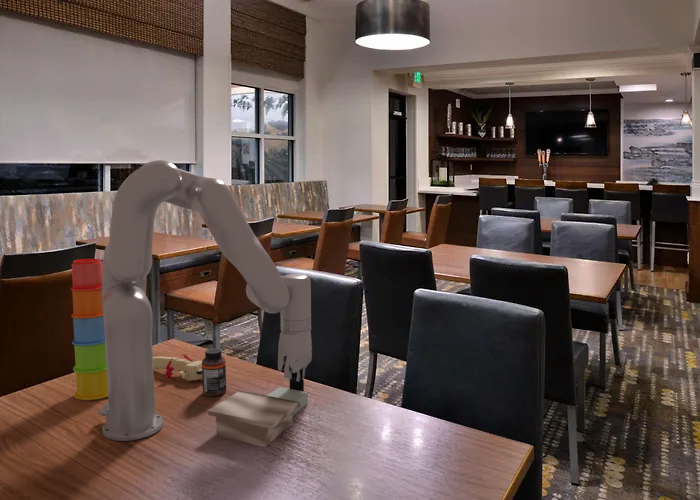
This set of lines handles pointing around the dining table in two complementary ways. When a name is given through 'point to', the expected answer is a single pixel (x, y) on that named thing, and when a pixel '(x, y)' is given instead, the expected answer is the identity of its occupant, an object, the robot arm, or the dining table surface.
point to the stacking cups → (89, 330)
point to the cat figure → (179, 367)
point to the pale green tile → (291, 396)
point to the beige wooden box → (253, 417)
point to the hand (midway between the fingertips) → (296, 394)
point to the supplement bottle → (213, 373)
